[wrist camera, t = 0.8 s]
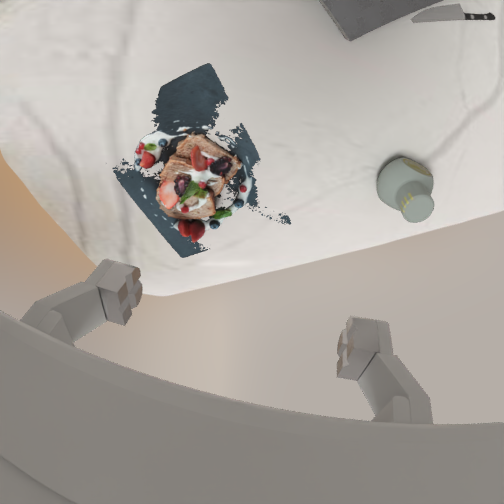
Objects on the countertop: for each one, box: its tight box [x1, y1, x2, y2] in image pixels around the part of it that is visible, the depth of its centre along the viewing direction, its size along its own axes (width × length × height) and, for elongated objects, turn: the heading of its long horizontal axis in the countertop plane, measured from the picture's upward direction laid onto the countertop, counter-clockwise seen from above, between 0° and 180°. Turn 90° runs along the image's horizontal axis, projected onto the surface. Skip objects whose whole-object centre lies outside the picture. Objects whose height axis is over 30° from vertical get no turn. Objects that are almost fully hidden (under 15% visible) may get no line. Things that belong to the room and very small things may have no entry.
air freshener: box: [377, 158, 434, 223], centre depth 50 cm, size 11×8×10 cm
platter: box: [113, 63, 291, 258], centre depth 54 cm, size 35×27×9 cm
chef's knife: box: [411, 4, 495, 23], centre depth 30 cm, size 19×1×3 cm
